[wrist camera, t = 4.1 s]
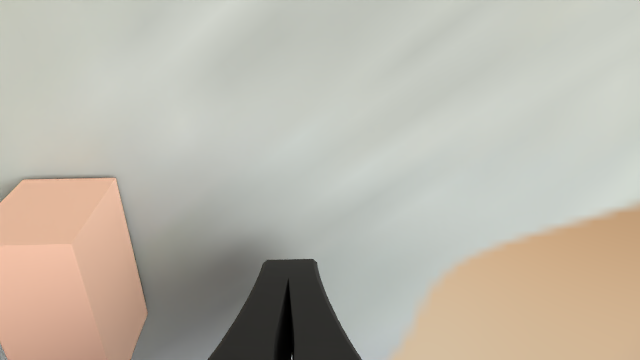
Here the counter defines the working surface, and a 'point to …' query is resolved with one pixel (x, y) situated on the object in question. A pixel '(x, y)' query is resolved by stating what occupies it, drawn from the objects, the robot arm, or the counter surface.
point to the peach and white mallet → (68, 272)
